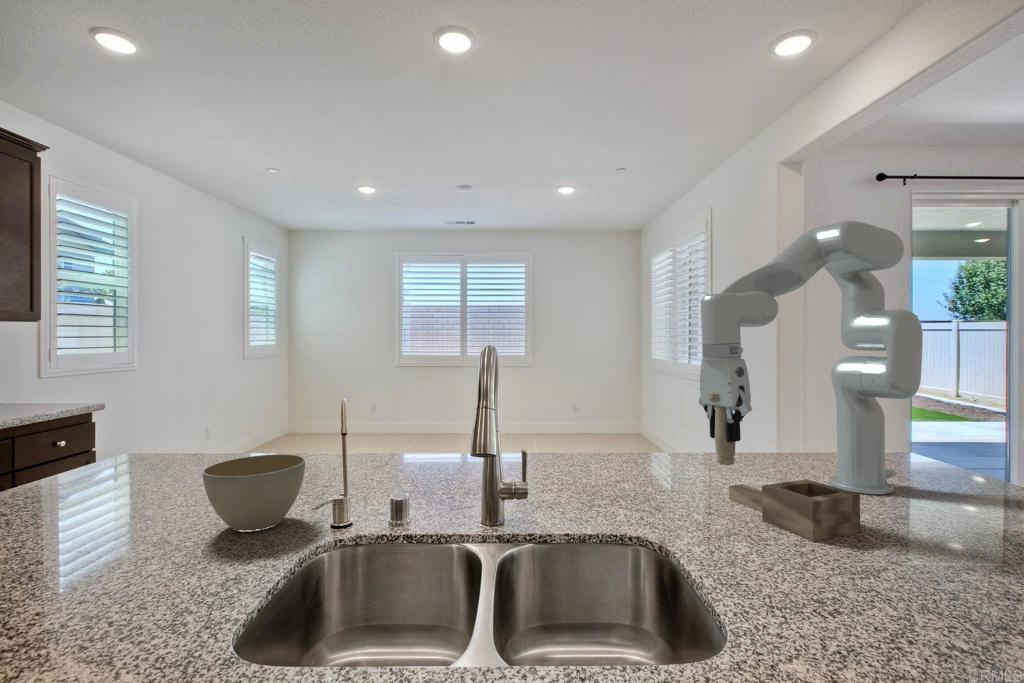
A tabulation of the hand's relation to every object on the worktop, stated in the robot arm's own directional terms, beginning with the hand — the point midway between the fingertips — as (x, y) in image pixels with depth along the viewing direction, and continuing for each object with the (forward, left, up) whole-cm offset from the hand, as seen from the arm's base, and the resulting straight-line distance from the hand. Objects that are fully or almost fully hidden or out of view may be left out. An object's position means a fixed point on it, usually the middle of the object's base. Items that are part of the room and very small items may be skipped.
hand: (725, 438), depth 105 cm
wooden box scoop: (-8, +7, -15) cm, 18 cm away
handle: (0, 0, -6) cm, 6 cm away
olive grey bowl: (+92, -27, -15) cm, 97 cm away
